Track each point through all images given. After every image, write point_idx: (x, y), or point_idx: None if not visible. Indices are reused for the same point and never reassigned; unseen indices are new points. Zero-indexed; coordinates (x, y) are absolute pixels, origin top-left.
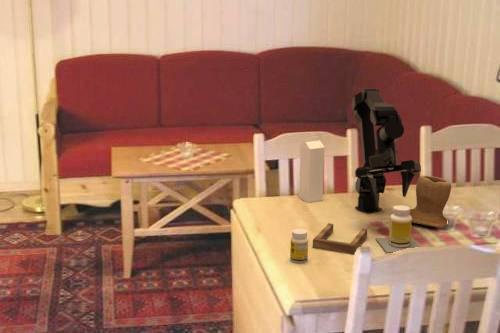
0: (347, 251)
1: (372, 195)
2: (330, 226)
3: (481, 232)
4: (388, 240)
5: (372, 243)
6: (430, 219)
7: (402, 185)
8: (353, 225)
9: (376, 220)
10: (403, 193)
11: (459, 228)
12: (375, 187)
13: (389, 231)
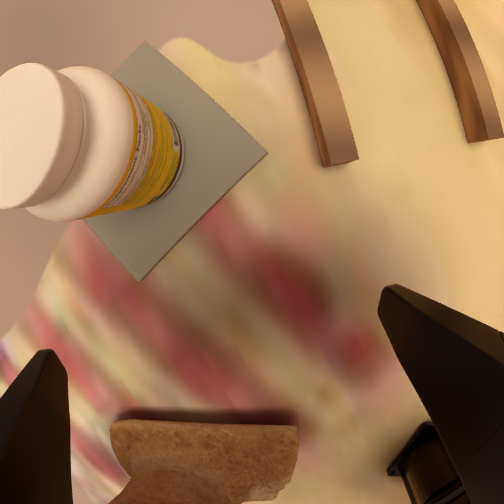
0: None
1: (429, 303)
2: (480, 99)
3: None
4: (199, 164)
5: (258, 105)
6: (149, 447)
7: (1, 442)
8: (438, 274)
9: (375, 390)
10: (31, 367)
11: (97, 451)
12: (449, 427)
13: (154, 107)
